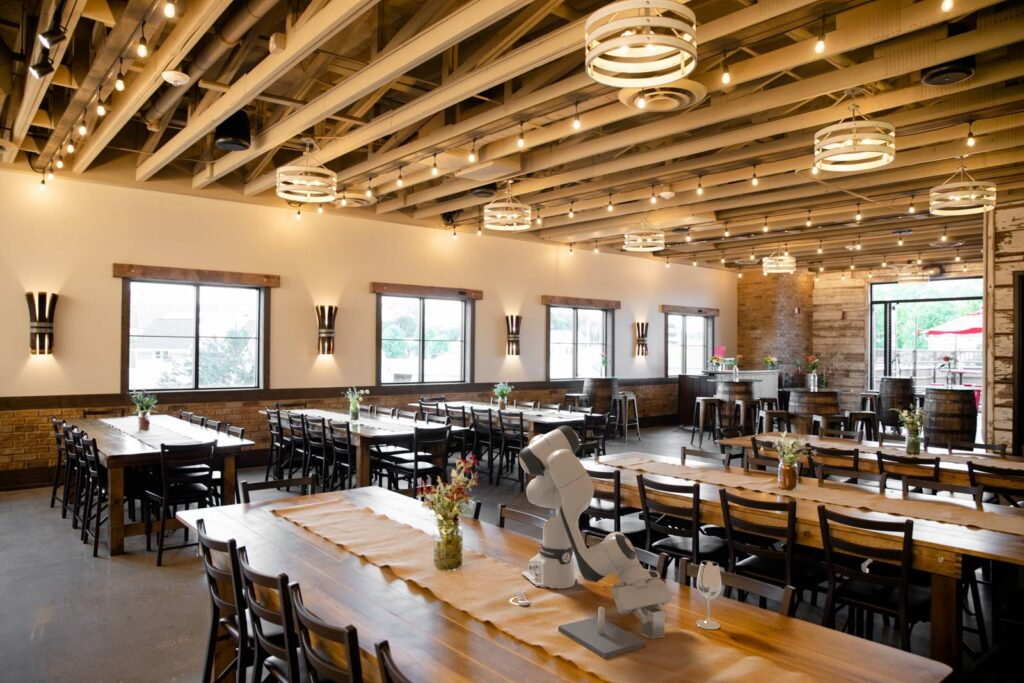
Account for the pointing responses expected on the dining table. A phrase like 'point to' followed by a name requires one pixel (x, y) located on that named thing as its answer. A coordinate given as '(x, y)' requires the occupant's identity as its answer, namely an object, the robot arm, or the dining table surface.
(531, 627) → the dining table surface
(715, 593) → the wineglass
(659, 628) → the steel sleeve
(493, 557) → the dining table surface
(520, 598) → the teacup and saucer
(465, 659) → the dining table surface
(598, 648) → the shaft plate
